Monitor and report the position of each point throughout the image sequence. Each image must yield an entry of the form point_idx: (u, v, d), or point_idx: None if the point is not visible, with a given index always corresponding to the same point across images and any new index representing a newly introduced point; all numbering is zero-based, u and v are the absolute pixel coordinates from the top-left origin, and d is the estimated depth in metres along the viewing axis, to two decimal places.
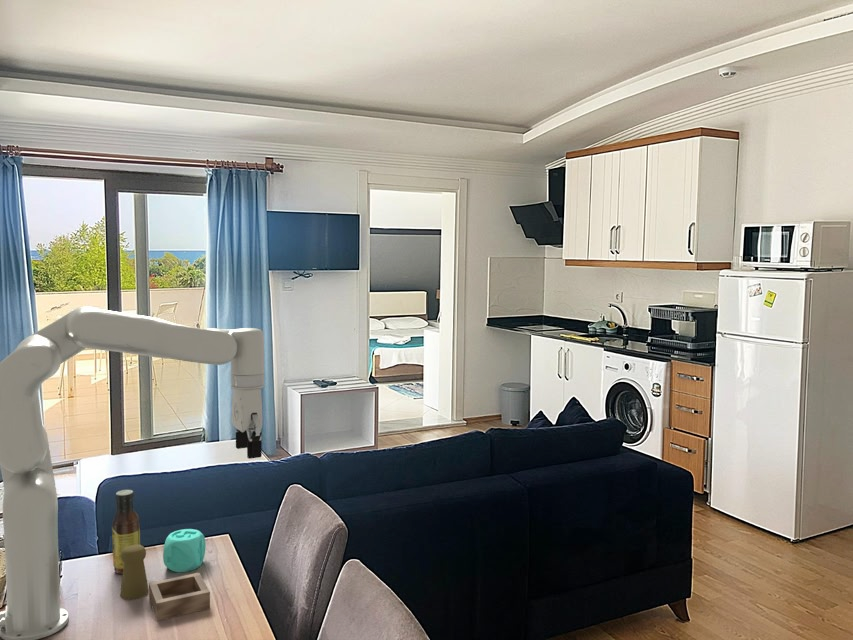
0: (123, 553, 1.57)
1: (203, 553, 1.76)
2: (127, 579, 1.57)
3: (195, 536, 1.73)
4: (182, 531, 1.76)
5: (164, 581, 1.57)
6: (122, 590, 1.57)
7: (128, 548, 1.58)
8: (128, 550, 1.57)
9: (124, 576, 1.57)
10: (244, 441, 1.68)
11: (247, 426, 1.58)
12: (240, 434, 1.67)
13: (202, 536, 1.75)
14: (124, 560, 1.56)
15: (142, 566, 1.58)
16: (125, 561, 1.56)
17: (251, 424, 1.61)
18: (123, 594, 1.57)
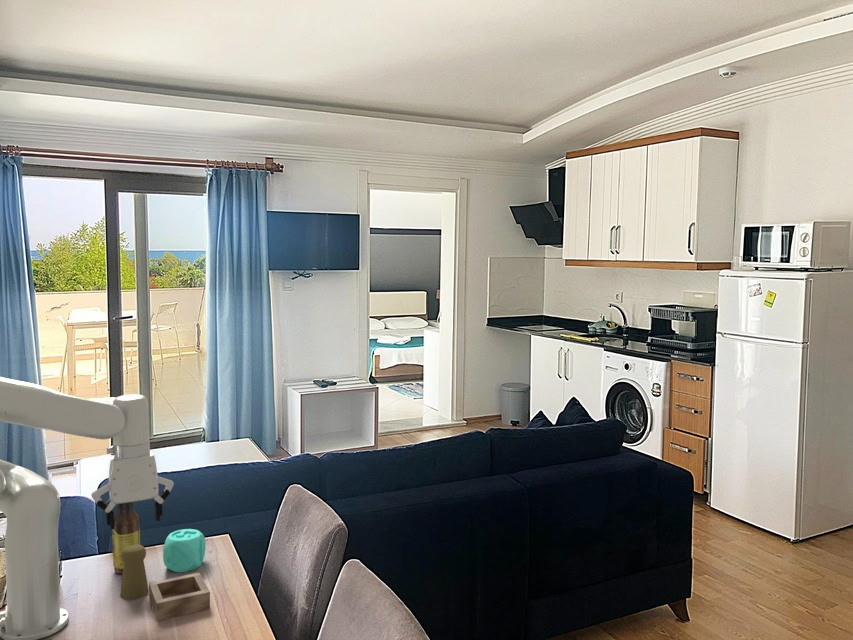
0: (123, 553, 1.57)
1: (203, 553, 1.76)
2: (127, 579, 1.57)
3: (195, 536, 1.73)
4: (182, 531, 1.76)
5: (164, 581, 1.57)
6: (122, 590, 1.57)
7: (128, 548, 1.58)
8: (128, 550, 1.57)
9: (124, 576, 1.57)
10: None
11: None
12: None
13: (202, 536, 1.75)
14: (124, 560, 1.56)
15: (142, 566, 1.58)
16: (125, 561, 1.56)
17: None
18: (123, 594, 1.57)
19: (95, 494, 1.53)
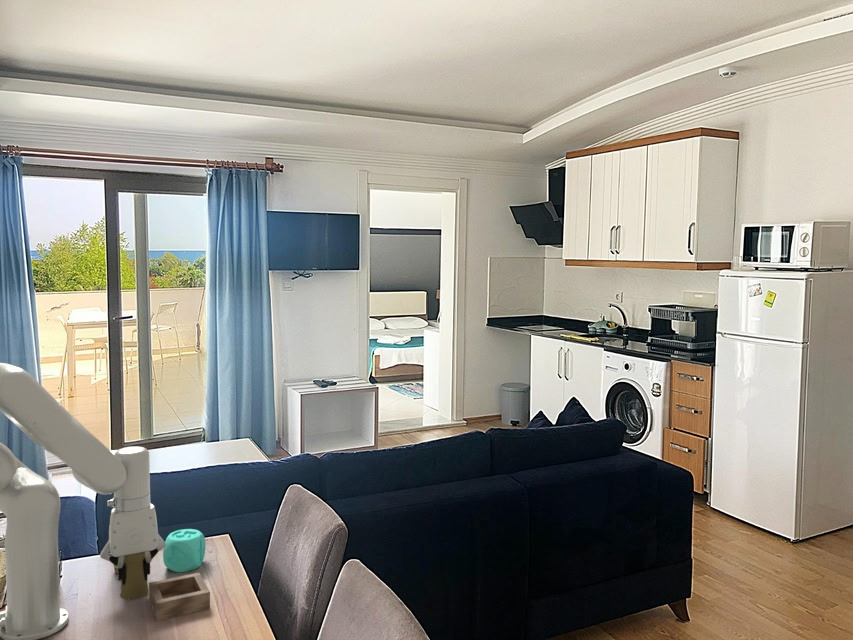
0: None
1: (203, 553, 1.76)
2: (127, 579, 1.57)
3: (195, 536, 1.73)
4: (182, 531, 1.76)
5: (164, 581, 1.57)
6: (122, 590, 1.57)
7: None
8: None
9: None
10: None
11: None
12: (124, 568, 1.57)
13: (202, 536, 1.75)
14: (124, 560, 1.56)
15: (142, 566, 1.58)
16: (125, 561, 1.56)
17: None
18: (123, 594, 1.57)
19: (103, 554, 1.55)
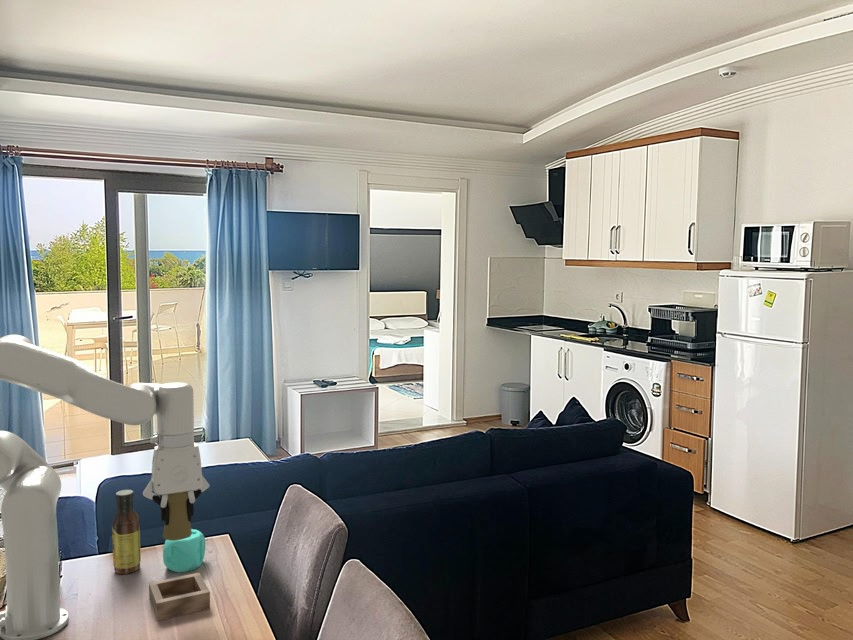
0: None
1: (203, 553, 1.76)
2: (171, 519, 1.51)
3: (195, 536, 1.73)
4: None
5: (164, 581, 1.57)
6: (165, 531, 1.51)
7: None
8: None
9: None
10: None
11: None
12: None
13: (202, 536, 1.75)
14: (167, 499, 1.51)
15: (185, 506, 1.53)
16: (168, 500, 1.51)
17: None
18: (166, 535, 1.51)
19: (146, 492, 1.49)
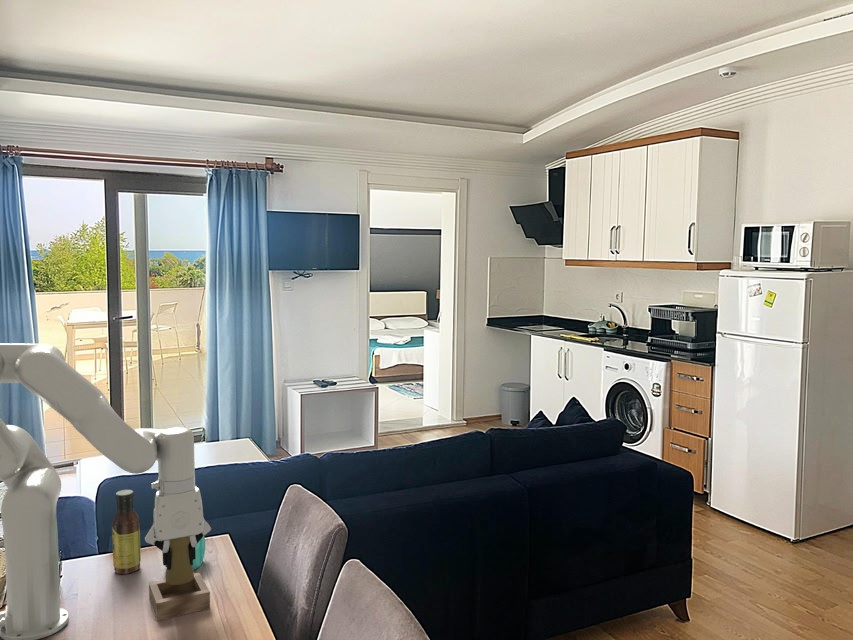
0: None
1: (203, 553, 1.76)
2: (173, 563, 1.52)
3: None
4: None
5: (164, 581, 1.57)
6: (167, 575, 1.52)
7: None
8: None
9: None
10: None
11: None
12: None
13: None
14: (169, 544, 1.51)
15: (187, 550, 1.53)
16: (170, 545, 1.51)
17: None
18: (169, 579, 1.52)
19: (148, 538, 1.50)
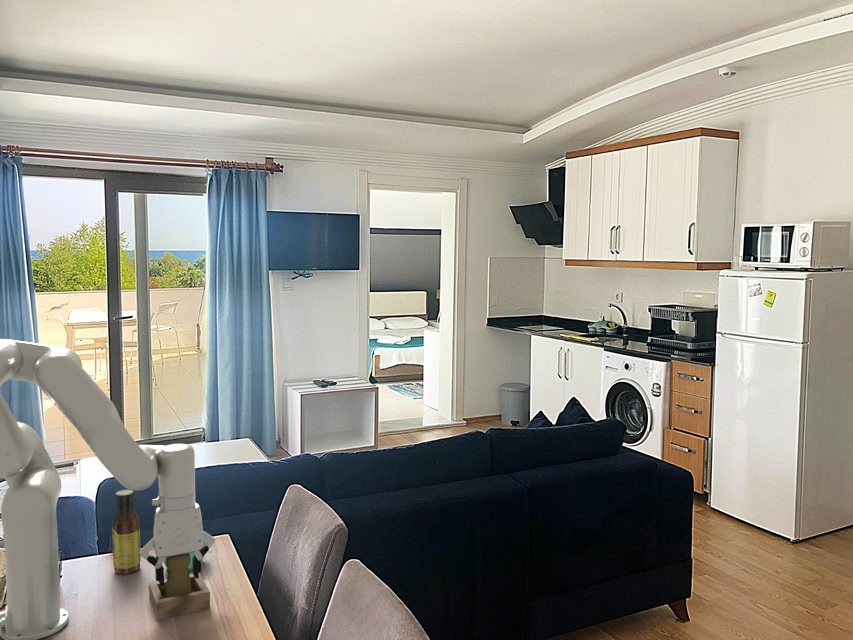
0: (168, 559, 1.52)
1: None
2: (172, 585, 1.52)
3: None
4: None
5: (164, 581, 1.57)
6: (166, 597, 1.52)
7: None
8: (172, 556, 1.52)
9: (169, 583, 1.52)
10: None
11: None
12: None
13: None
14: (169, 566, 1.52)
15: (187, 572, 1.54)
16: (170, 567, 1.51)
17: None
18: None
19: (143, 551, 1.49)
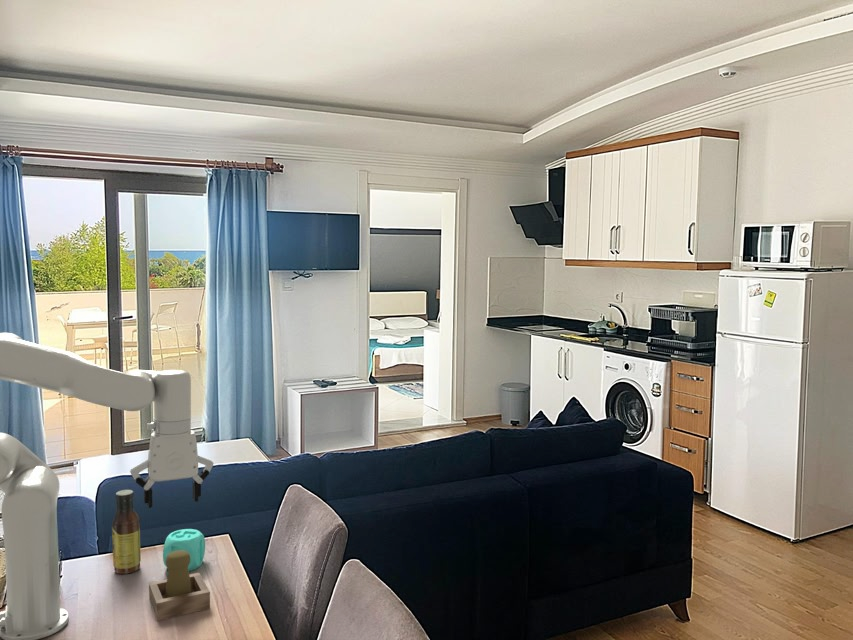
0: (168, 559, 1.52)
1: (203, 553, 1.76)
2: (172, 585, 1.52)
3: (195, 536, 1.73)
4: (182, 531, 1.76)
5: (164, 581, 1.57)
6: (166, 597, 1.52)
7: (172, 554, 1.53)
8: (172, 556, 1.52)
9: (168, 583, 1.52)
10: None
11: None
12: (151, 491, 1.51)
13: (202, 536, 1.75)
14: (169, 566, 1.52)
15: (187, 572, 1.54)
16: (170, 567, 1.51)
17: None
18: None
19: (134, 470, 1.49)
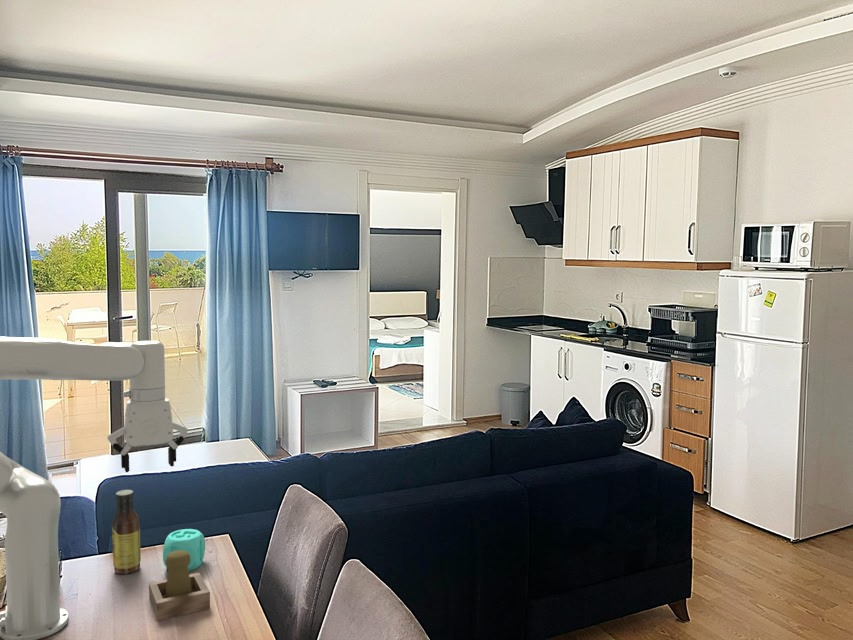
0: (168, 559, 1.52)
1: (203, 553, 1.76)
2: (172, 586, 1.52)
3: (195, 536, 1.73)
4: (182, 531, 1.76)
5: (164, 581, 1.57)
6: (166, 597, 1.52)
7: (172, 554, 1.53)
8: (172, 556, 1.52)
9: (168, 583, 1.52)
10: None
11: None
12: None
13: (202, 536, 1.75)
14: (169, 566, 1.52)
15: (187, 572, 1.54)
16: (170, 567, 1.51)
17: None
18: None
19: (111, 436, 1.56)
